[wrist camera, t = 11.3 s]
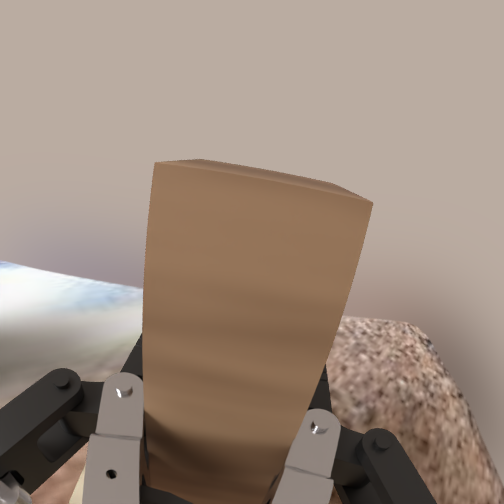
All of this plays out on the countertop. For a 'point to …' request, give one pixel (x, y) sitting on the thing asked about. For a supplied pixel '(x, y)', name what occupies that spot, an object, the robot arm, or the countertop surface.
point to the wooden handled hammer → (238, 319)
